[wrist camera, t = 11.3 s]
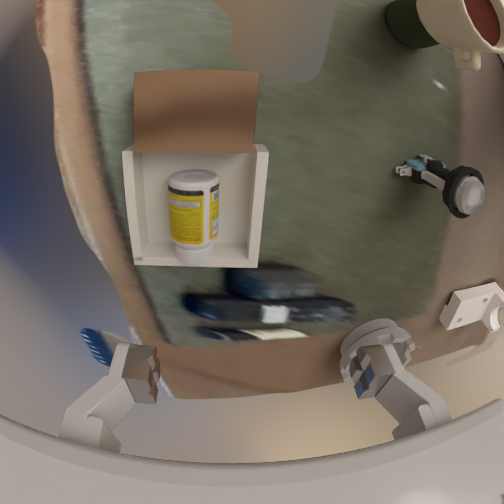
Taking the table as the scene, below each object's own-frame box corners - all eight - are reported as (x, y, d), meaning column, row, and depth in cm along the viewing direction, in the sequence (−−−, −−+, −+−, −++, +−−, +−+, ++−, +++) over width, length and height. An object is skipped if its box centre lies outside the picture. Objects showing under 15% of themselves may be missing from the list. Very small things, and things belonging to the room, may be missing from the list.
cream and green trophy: (432, 73, 23) (516, 85, 12) (381, 60, 23) (465, 60, 12) (427, -6, 18) (504, -20, 7) (375, -23, 17) (447, -57, 6)
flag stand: (395, 353, 49) (451, 486, 23) (332, 371, 49) (374, 520, 24) (409, 305, 42) (492, 463, 17) (336, 324, 42) (399, 513, 17)
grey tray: (134, 142, 26) (122, 151, 23) (263, 144, 28) (269, 152, 24) (142, 245, 32) (134, 264, 29) (254, 248, 34) (257, 267, 30)
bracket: (492, 279, 42) (513, 302, 36) (479, 306, 46) (498, 330, 40) (450, 288, 42) (473, 316, 35) (437, 317, 45) (456, 346, 39)
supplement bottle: (159, 173, 26) (164, 250, 30) (183, 186, 23) (186, 272, 27) (202, 166, 28) (201, 238, 33) (230, 177, 26) (226, 257, 30)
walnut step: (149, 75, 23) (134, 72, 18) (254, 75, 24) (259, 71, 20) (148, 142, 26) (134, 153, 22) (248, 143, 27) (252, 153, 23)
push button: (393, 189, 31) (441, 228, 23) (393, 145, 28) (448, 173, 20) (434, 184, 31) (485, 219, 22) (436, 144, 28) (493, 171, 20)
